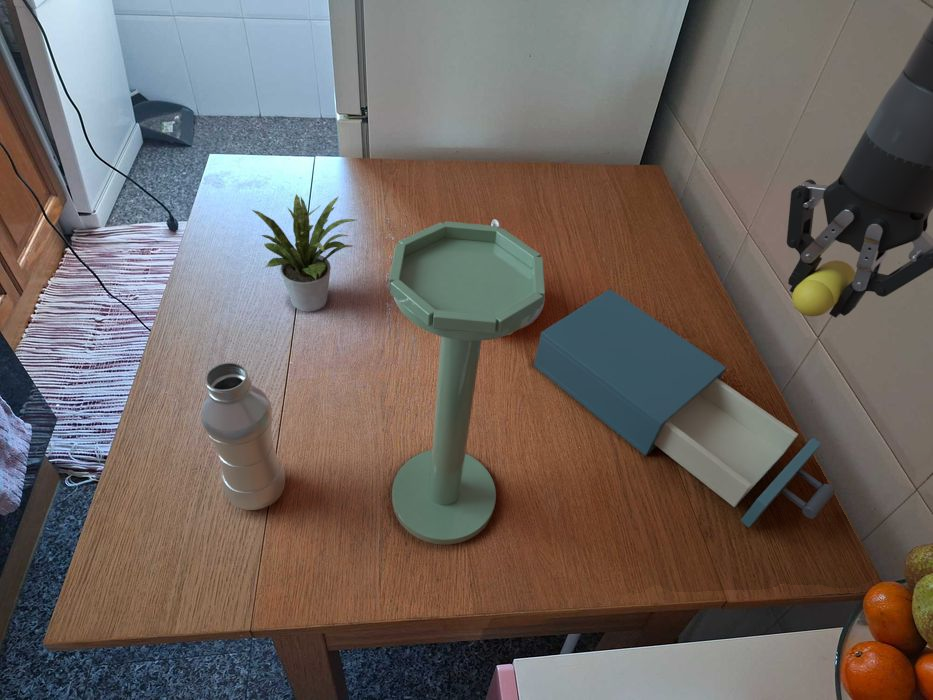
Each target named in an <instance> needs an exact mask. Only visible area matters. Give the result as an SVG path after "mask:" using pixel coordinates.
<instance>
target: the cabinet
mask: <svg viewBox="0 0 933 700" xmlns="http://www.w3.org/2000/svg"><path fill="white" fill-rule="evenodd" d="M533 367H535V368H536V369H537V370H538V371H540V372H541V373H542V374H543V375H544V376H546V378H548V379H549V380H550V381H552V382H553V383H554V384H555V385H557V386H558V387H559V388H561V389H562V391H564V392H565V393H566V394H568V395H569V396H570V397H571V398H573V399H574V400H575V401H577V402H578V403H579V404H580V405H581V406H583V407H584V408H585V409H586V410H587V411H589V412H590V413H592V414H593V415H594V416H595V417H596V418H598V419H599V420H600V421H601V422H602V423H604V424H605V425H606V426H607V427H609V428H610V429H611V430H612V431H614V432H615V433H616V434H618V436H620V437H621V438H622V439H624V440H625V441H627V443H629V444H630V445H631V446H632V447H633V448H635V449H636V450H637V451H639V453H641V454H642V455H643V456H645V457H647V456H648V455H649V454H650V453H651V452H653V450H655V448H658V447H657V446H656V445H655V444H654V443H655V441H656V439H657V437H658V435H659V433H660V431H661V429H662V427H663V425H664V424H665V423H666V422H667V421H668V420H669V419H671V418H672V417H673V416H674V415H675V414H676V413H678V412H679V411H680V410H681V409H682V408H683V407H684V406H686V405H687V404H688V403H689V402H690V401H691V400H693V399H694V398H695V397H696V396H697V395H698V394H699V393H701V392H702V391H703V390H704V389H705V388H706V387H708V386H709V385H710V384H711V383H712V382H713V381H715V380H716V379H717V378H718V379H719V380H722V377H723V376H724V374H725V372H726V370H727V366H725V365H723V364H722V363H721V362H719V361H718V360H716V359H714V358H713V357H711V356H710V355H708V354H707V353H705V352H704V351H703V350H701V349H700V348H699V347H697V346H695V345H694V344H692V343H691V342H689V341H688V340H686V339H685V338H684V337H682V336H680V335H679V334H677V332H675V331H673V330H671V329H670V328H669V327H667V326H665V325H664V324H663V323H661V322H660V321H658V320H657V319H656V318H654V317H652V316H651V315H650V314H648V313H646V312H645V311H643V310H642V309H641V308H639V307H637V306H636V305H634V304H633V303H631V302H630V301H628V300H627V299H625V298H624V297H623V296H621V295H620V294H618V293H617V292H616V291H614V290H612V289H611V288H609V289H607V290H605V291H604V292H602V293H601V294H599V295H598V296H596V297H594V298H593V299H591V300H590V301H588V302H587V303H585V304H583V305H582V306H580V307H579V308H577V309H575V310H573V312H571V313H569V314H568V315H566V316H565V317H563V318H561V319H560V320H558V321H557V322H554V323H553V324H551V325H550V326H549V327H547V328H545V329H544V330H542V331H541V332H540V337H539V341H538V345H537V349H536V353H535V358H534V363H533Z"/></svg>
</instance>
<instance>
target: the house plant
mask: <svg viewBox="0 0 933 700" xmlns="http://www.w3.org/2000/svg"><path fill="white" fill-rule="evenodd" d="M338 198H339V196H336V197H335V198H334V199H333V200H331V201H330V202H329V203H328V204H327V205H326V206H325V207H324V209H323V210H322V213H321V214H320V216H319V218H318V220H317V221H316V223H315V225H314V224H310V216H311V215H312V214H313V213H314V212H315V211H316V210H318V209H320V207H321V206H322V205H321V204H320V205H319V206H317V207H315V209H313V210H311V211H310V212H308V208H307V205H306V203H305V200H304V199H303V198H302V196H300V197H299V195H298V193H296V194H295V196H294V201H293V211H292V209H290V208H289V206H288V207H287V210H288V211H289V213H290V215H291V218H292V219H293V220H292V221H293V223H292V225H293V226H292V231H293V234H294V237H295V238H294V239H295V241H294V242H295V244H294V245H293V244H292V242H291V241H290V240H289V238H288V236H287V235H286V234H285V232H284V231H283V229H282V228H281V227H280V225H279V224H278V223H277V222H276V221H275V220H274V219H272V218H270V217H269V216H267V215H265V214H264V213H263V212H261V211H258V210H254V209H251V211H252V212H253V213H255V214H256V215H257V216H258V217H259V218H260V219H261V220H262V221H263V222H264V223H265V224H266V226H268V228H270V230H271V231H272V234H273V236H274V237H273V236H270V235H268V234H262V235H260V236H261V237H263V238H266V239H269V240H270V241H271V242H267V243H264V244H263V245H264V247H265V248H266V249H267V250H268V251H270V252H272V253H273V254H275V255H278V256H279V257H273V258H272V259H270V260H269V261H268V262H267V264H266V265H265V267H264V269H266V268H272V267H273V268H274V267H278V266H280V267H279V273H280V275H281V277H282V281H283V283H284V285H285V288H286V291H287V295H288V296H289V299H290V302H291V304H292V307H294V308H295V309H297V310H300V311H301V312H307V313H308V312H309V313H310V312H316V311H318V310H320V309H322V308H323V307H325V305H326V304H327V302H328V294H329V287H330V286H329V284H330V278H331V277H330V275H331V268H332V267H331V263H330V261H329V260H328V259H329V258H330V257H332V255H333V254H335V253H337V252H339V251H340V250H343V249H345V248H352V247H353V245H352V244H344V243H343V242H341V241H338V240H337V241H336V239H338V238H340V237H342V238H343V237H349V235H348V234H343V233H342V234H338V233H337V234H335V235H333V236H331V237H330V238H328V240H326V241H325V242H324V244H323V245H322V243H321V241H322V240H323V239H324V238H325V236H326V235H327V234H328V233H329V232H331V231H332V230H333V229H335V228H337V227H338V226H340V225H342V224H346V223H351V222H355V221H357V219H355V218H344V219H339V220H336V221H334V222H332V223H330V224H329V225H328V226H327V227H326V228H324V227H325V225H326V224H327V223H328V220H329V219H328V218H329V216H330V214H331V213H332V211H334V209H335V207H334V205H335V204H336V202H337V201H338ZM312 229H313V232H312V233H311V231H312ZM310 235H311V237H310ZM334 240H335V241H334ZM330 249H332V250H330ZM327 250H330V252H329V253H327V255H326V256H323V255H322V254H323V253H326V251H327Z"/></svg>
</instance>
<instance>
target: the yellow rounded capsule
mask: <svg viewBox="0 0 933 700" xmlns="http://www.w3.org/2000/svg"><path fill="white" fill-rule="evenodd" d="M855 273H856V270H855V269H854V267H852V265H850V264H849V263H847V262H846V261H842V260H837V259H836V260H830V261H829V260H828V261H827V262H825V263H823V264H821V265H820V266H818V267H817V268H816V270H815V271H814V272H813V273H812V274H810V275H809V276H808V277H807V278H806V279H804V280H803V281H802V282H801V283H800V284H798V285H797V287H796V288H795V289H794V292H793V293H792V294H791V302H792V305H793V307H794V309H795V310H796V311H797V312H798V313H799V314H802V315H804V316H806V317H819V316H822V315H825V314H826V313H827V312H830V311H831V310H832V308H833V307H834V305H835V304H836V303H837V302H838V299H839V298H840V296H841V295H842V293H843V291H844V290H845V288H846V287H847V286H848V285H849V284H850V283H851V282H852V281H853V279H854V276H855Z"/></svg>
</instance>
